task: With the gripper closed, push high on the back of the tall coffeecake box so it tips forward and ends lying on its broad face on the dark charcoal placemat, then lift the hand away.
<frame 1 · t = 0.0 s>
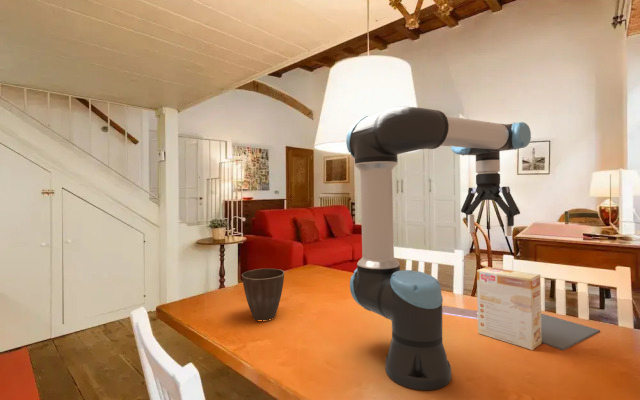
hand: (488, 234, 114), 28 cm above the table, tool pointing down, fingers open, 13 cm apart
coffeecake box: (508, 338, 96), on the table
placemat: (540, 327, 103), on the table
plant pot: (264, 318, 117), on the table
mobile phone: (462, 314, 116), on the table
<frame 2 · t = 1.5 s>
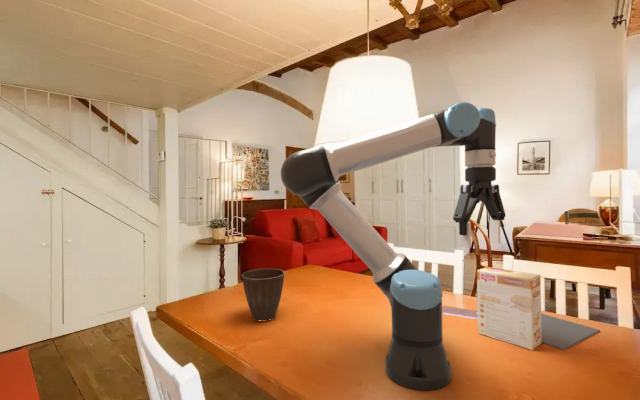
hand: (480, 245, 90), 28 cm above the table, tool pointing down, fingers open, 12 cm apart
nothing on the table moved.
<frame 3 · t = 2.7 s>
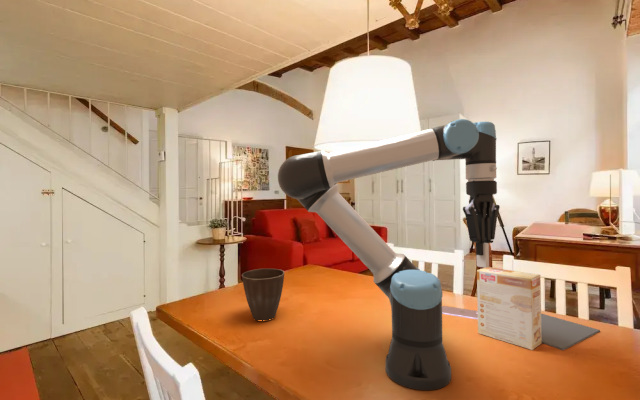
hand: (482, 266, 90), 23 cm above the table, tool pointing down, fingers closed
nothing on the table moved.
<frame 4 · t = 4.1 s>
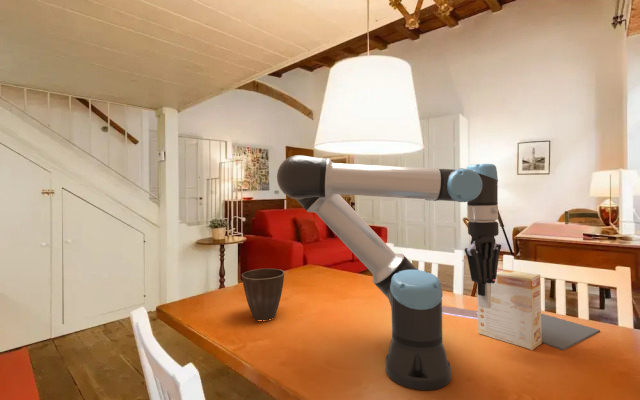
hand: (484, 306, 90), 12 cm above the table, tool pointing down, fingers closed
nothing on the table moved.
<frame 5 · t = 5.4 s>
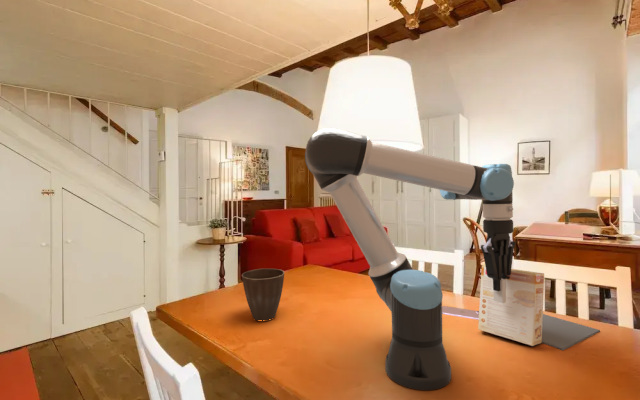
hand: (499, 301, 93), 12 cm above the table, tool pointing down, fingers closed
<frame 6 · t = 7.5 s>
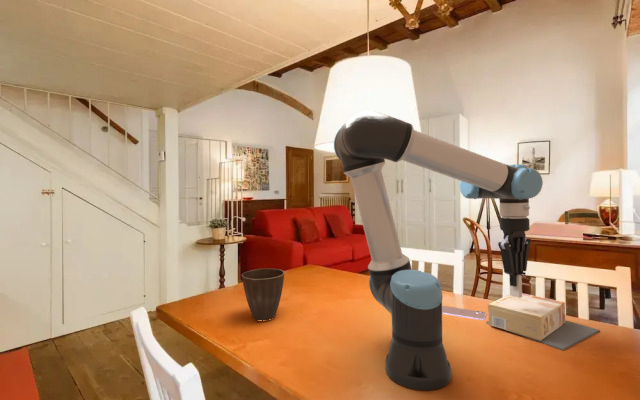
hand: (515, 296, 98), 12 cm above the table, tool pointing down, fingers closed
coffeecake box: (512, 321, 98), point 4 cm above the table, touching placemat
everything else where it was.
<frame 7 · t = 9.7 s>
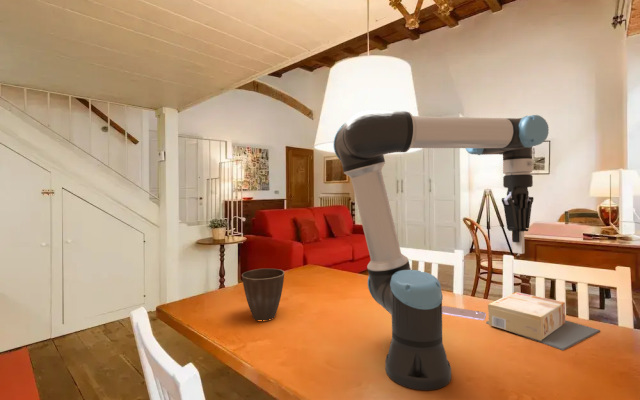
hand: (518, 252, 99), 24 cm above the table, tool pointing down, fingers closed
nothing on the table moved.
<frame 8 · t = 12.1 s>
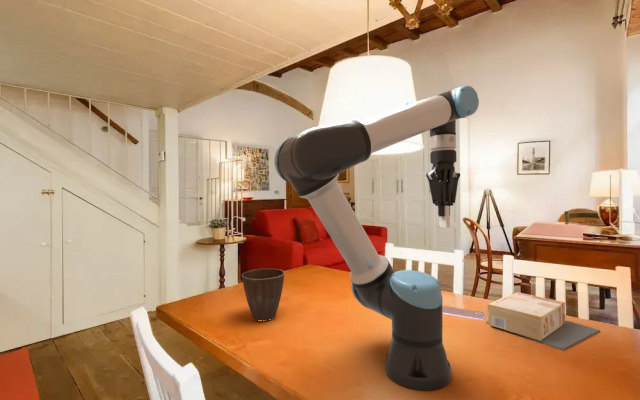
hand: (444, 226, 101), 32 cm above the table, tool pointing down, fingers closed
nothing on the table moved.
at the end: coffeecake box tilted 90°; coffeecake box touching placemat; coffeecake box inside the target area (3.1 cm from its centre), point 4.0 cm above the table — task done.
